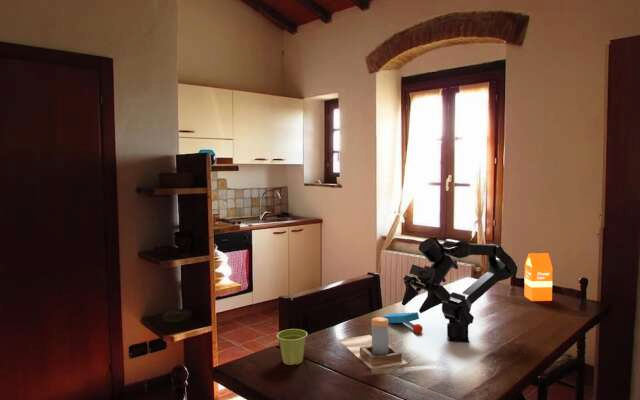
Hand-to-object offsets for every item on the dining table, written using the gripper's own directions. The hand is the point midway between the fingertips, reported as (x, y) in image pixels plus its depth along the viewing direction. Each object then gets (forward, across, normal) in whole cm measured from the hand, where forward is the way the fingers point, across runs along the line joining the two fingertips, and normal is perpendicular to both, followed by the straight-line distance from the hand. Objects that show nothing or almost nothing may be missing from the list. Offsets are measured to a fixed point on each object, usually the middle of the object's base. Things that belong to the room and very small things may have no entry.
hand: (411, 308), depth 155 cm
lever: (+3, -19, +17) cm, 26 cm away
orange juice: (-49, -21, +69) cm, 87 cm away
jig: (+19, -3, 0) cm, 19 cm away
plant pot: (+36, -9, -17) cm, 41 cm away
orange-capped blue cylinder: (+19, +3, -1) cm, 19 cm away
